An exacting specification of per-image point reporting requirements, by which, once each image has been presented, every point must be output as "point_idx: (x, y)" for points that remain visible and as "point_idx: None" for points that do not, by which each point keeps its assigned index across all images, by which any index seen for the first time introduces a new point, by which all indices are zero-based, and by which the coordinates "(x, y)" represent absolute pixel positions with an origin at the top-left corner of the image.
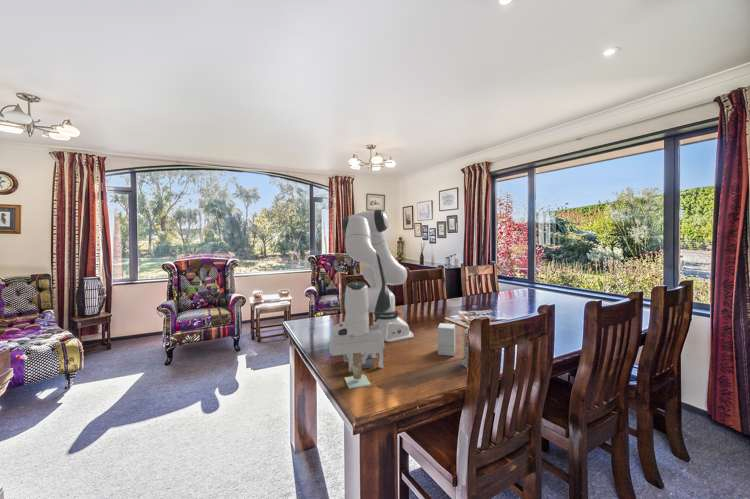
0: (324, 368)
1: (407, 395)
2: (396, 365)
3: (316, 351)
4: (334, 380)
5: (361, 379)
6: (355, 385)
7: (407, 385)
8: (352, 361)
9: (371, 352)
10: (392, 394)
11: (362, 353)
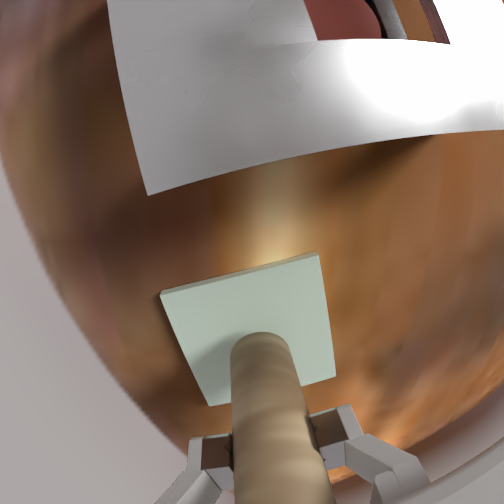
0: (16, 120)
1: (441, 408)
2: None
3: None
4: (101, 304)
5: (287, 328)
6: None
7: (476, 344)
8: (228, 484)
9: (465, 131)
10: (400, 415)
11: (365, 143)
